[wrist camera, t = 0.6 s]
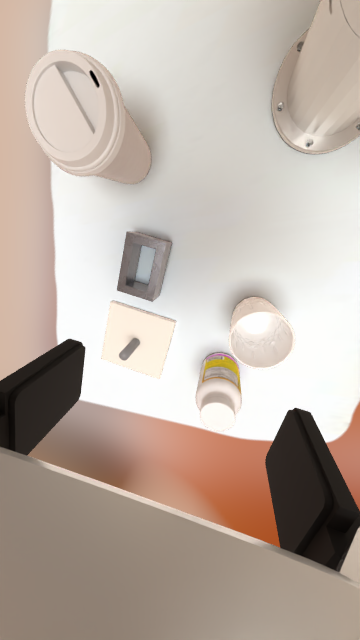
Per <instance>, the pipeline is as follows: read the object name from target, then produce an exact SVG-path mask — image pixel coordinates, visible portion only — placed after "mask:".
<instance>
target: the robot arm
mask: <svg viewBox="0 0 360 640" xmlns="http://www.w3.org/2000/svg"><path fill="white" fill-rule="evenodd" d="M298 50H300V51H301V52H298ZM278 108H281V111H278V110H277V109H278ZM272 112H273V118H274V122H275V125H276V128H277V130H278V132H279V134H280V135H281V137H282V138H283V140H284V141H285V142H286V143H287V144H289V145H290V146H291V147H293V148H294V149H296V150H298V151H301V152H304V153H309V154H321V153H328V152H331V151H334V150H337V149H339V148H341V147H343V146H345V145H347V144H349V143H350V142H351V141H353V140H354V139H356V138H357V137H358V136H359V135H360V0H321V1H320V3H319V6H318V8H317V11H316V14H315V16H314V19H313V21H312V24H311V26H310V28H309V29H308V30H307V31H306V32H305V33H304V34H303V35H302V36H301V37H300V38H299V39H298V40H297V41H296V43H295V44H294V45H293V46H292V48H291V49H290V50H289V52H288V54H287V55H286V57H285V59H284V61H283V62H282V65H281V67H280V70H279V72H278V75H277V78H276V82H275V85H274V91H273V97H272ZM356 126H358V127H359V130H358V129H357V128H356ZM307 143H308V144H309V147H307V146H306V144H307ZM84 357H85V347H84V346H83V344H82V343H81V342H79V341H76V340H72V339H67V340H66V341H64V342H63V343H61V344H59V345H58V346H56V347H55V348H53V349H51V350H50V351H48V352H46V353H45V354H43V355H41V356H40V357H38V358H37V359H35V360H33V361H32V362H30V363H29V364H27V365H25V366H24V367H22V368H20V369H19V370H17V371H16V372H14V373H12V374H11V375H9V376H7V377H6V378H4V379H3V380H1V381H0V640H360V511H359V509H358V507H357V505H356V503H355V501H354V499H353V497H352V495H351V493H350V491H349V489H348V487H347V485H346V483H345V481H344V479H343V477H342V475H341V473H340V471H339V469H338V467H337V465H336V463H335V461H334V459H333V457H332V455H331V453H330V451H329V449H328V447H327V445H326V443H325V441H324V439H323V437H322V435H321V433H320V431H319V429H318V427H317V425H316V423H315V421H314V419H313V417H312V415H311V413H310V412H308V411H304V410H301V409H298V408H294V409H293V410H289V411H288V412H287V414H286V416H285V418H284V420H283V422H282V425H281V427H280V429H279V431H278V433H277V435H276V437H275V439H274V441H273V443H272V445H271V447H270V449H269V451H268V453H267V456H266V462H265V463H266V469H267V474H268V481H269V486H270V492H271V498H272V503H273V508H274V514H275V520H276V525H277V531H278V536H279V542H280V548H279V547H277V546H274V545H272V544H269V543H266V542H264V541H261V540H259V539H256V538H253V537H250V536H248V535H245V534H242V533H240V532H237V531H234V530H232V529H229V528H226V527H223V526H221V525H218V524H215V523H213V522H210V521H207V520H204V519H202V518H199V517H196V516H194V515H191V514H188V513H185V512H183V511H180V510H177V509H174V508H172V507H169V506H166V505H163V504H161V503H158V502H155V501H153V500H150V499H147V498H144V497H141V496H138V495H136V494H133V493H130V492H128V491H125V490H122V489H119V488H117V487H114V486H111V485H108V484H106V483H103V482H100V481H97V480H94V479H92V478H89V477H86V476H83V475H80V474H77V473H75V472H72V471H69V470H66V469H63V468H61V467H58V466H55V465H52V464H49V463H47V462H44V461H41V460H38V459H35V458H32V457H29V456H27V455H28V454H29V453H30V452H31V451H32V449H34V447H35V446H36V445H37V444H38V443H39V442H40V441H41V440H42V439H43V438H44V437H45V436H46V434H47V433H48V432H49V431H50V430H51V429H52V428H53V427H54V426H55V425H56V424H57V423H58V422H59V421H60V419H61V418H62V417H63V416H64V415H65V414H66V413H67V412H68V411H69V410H70V408H72V407H73V406H74V404H75V403H76V402H77V401H78V399H79V397H80V394H81V386H82V376H83V366H84Z"/></svg>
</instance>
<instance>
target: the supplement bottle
mask: <svg viewBox="0 0 360 640" xmlns="http://www.w3.org/2000/svg"><path fill="white" fill-rule="evenodd" d="M241 403H242V398H241V387H240V375H239V367H238V364H237V362H236V361H235V359H234V358H232V357H231V356H229V355H227V354H224V353H214V354H211V355H209V356H208V357H207V358H206V359H205V360H204V361H203V364H202V367H201V372H200V377H199V382H198V387H197V392H196V404H197V407H198V408H199V410H200V419H201V422H202V423H203V424H204V425H205V426H206V427H207V428H209V429H211V430H214V431H225V430H228V429H229V428H231V427H232V426H233V424H234V422H235V415H236V414H237V413H238V411H239V410H240V408H241Z"/></svg>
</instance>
